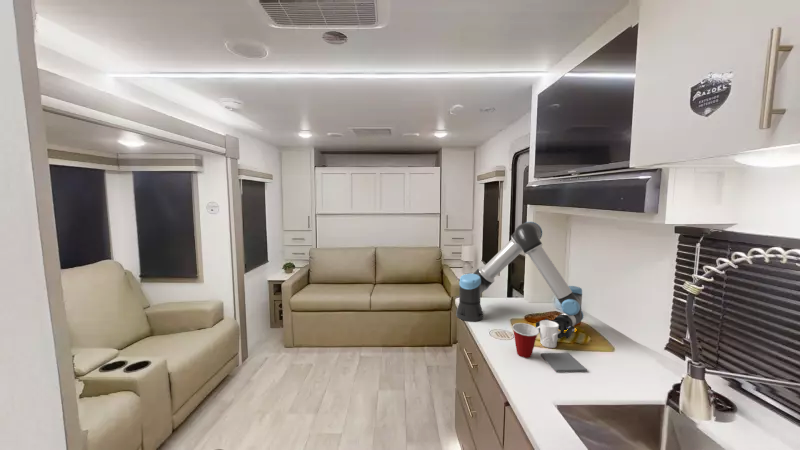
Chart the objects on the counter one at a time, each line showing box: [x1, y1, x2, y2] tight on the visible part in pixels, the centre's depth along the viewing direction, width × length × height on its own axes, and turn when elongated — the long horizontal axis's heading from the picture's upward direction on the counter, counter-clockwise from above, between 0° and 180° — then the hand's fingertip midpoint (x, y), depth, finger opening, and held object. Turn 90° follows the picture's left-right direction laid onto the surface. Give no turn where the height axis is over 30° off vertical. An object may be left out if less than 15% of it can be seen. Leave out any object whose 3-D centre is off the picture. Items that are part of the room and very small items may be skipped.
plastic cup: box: [511, 322, 540, 359], centre depth 134 cm, size 11×11×12 cm
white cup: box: [539, 319, 559, 349], centre depth 143 cm, size 8×8×10 cm
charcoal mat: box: [540, 352, 588, 373], centre depth 128 cm, size 13×12×1 cm
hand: (544, 334), depth 140 cm, fingers closed on white cup, 8 cm apart
